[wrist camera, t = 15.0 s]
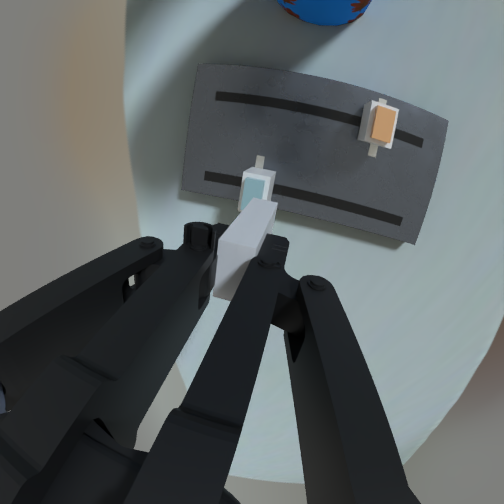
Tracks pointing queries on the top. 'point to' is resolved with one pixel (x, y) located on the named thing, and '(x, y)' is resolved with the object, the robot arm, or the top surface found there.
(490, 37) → the top surface
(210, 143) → the console
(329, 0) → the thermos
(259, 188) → the fader
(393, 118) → the fader
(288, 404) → the top surface
